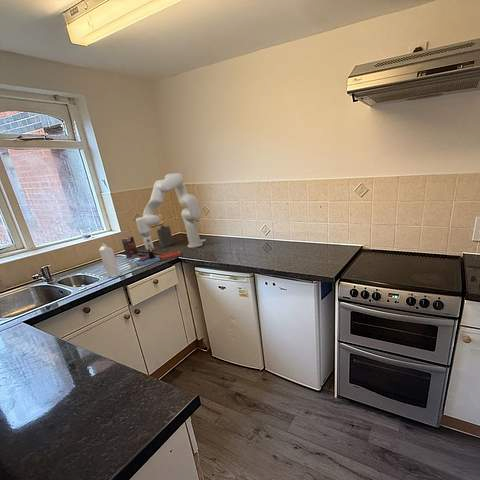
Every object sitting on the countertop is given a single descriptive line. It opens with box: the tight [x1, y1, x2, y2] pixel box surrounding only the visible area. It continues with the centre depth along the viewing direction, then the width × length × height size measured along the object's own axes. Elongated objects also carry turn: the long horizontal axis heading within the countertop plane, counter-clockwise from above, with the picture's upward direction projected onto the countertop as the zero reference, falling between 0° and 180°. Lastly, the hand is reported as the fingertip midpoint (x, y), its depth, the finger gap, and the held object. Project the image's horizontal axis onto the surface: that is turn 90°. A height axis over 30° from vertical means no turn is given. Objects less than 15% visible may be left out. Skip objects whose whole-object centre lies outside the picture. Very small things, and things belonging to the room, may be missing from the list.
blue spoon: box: [139, 254, 156, 262], centre depth 221 cm, size 12×4×2 cm, turn 122°
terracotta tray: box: [157, 250, 182, 262], centre depth 229 cm, size 15×11×2 cm
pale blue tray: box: [135, 254, 161, 267], centre depth 222 cm, size 15×11×2 cm
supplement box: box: [121, 236, 139, 260], centre depth 236 cm, size 9×5×16 cm, turn 168°
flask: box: [156, 224, 174, 249], centre depth 260 cm, size 4×14×18 cm, turn 156°
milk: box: [98, 243, 121, 279], centre depth 196 cm, size 6×6×22 cm
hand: (152, 258), depth 223 cm, fingers closed on blue spoon, 2 cm apart
